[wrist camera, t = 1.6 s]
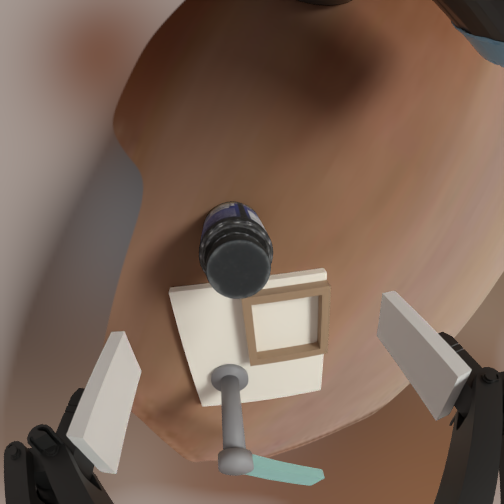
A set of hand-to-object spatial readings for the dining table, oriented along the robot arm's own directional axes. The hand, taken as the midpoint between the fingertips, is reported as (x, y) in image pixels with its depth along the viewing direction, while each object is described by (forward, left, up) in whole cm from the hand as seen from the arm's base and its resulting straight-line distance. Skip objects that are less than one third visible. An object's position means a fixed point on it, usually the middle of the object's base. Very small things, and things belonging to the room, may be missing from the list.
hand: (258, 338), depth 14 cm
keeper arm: (+24, 0, -5) cm, 24 cm away
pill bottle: (0, -1, -19) cm, 19 cm away
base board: (+16, 0, -19) cm, 24 cm away
